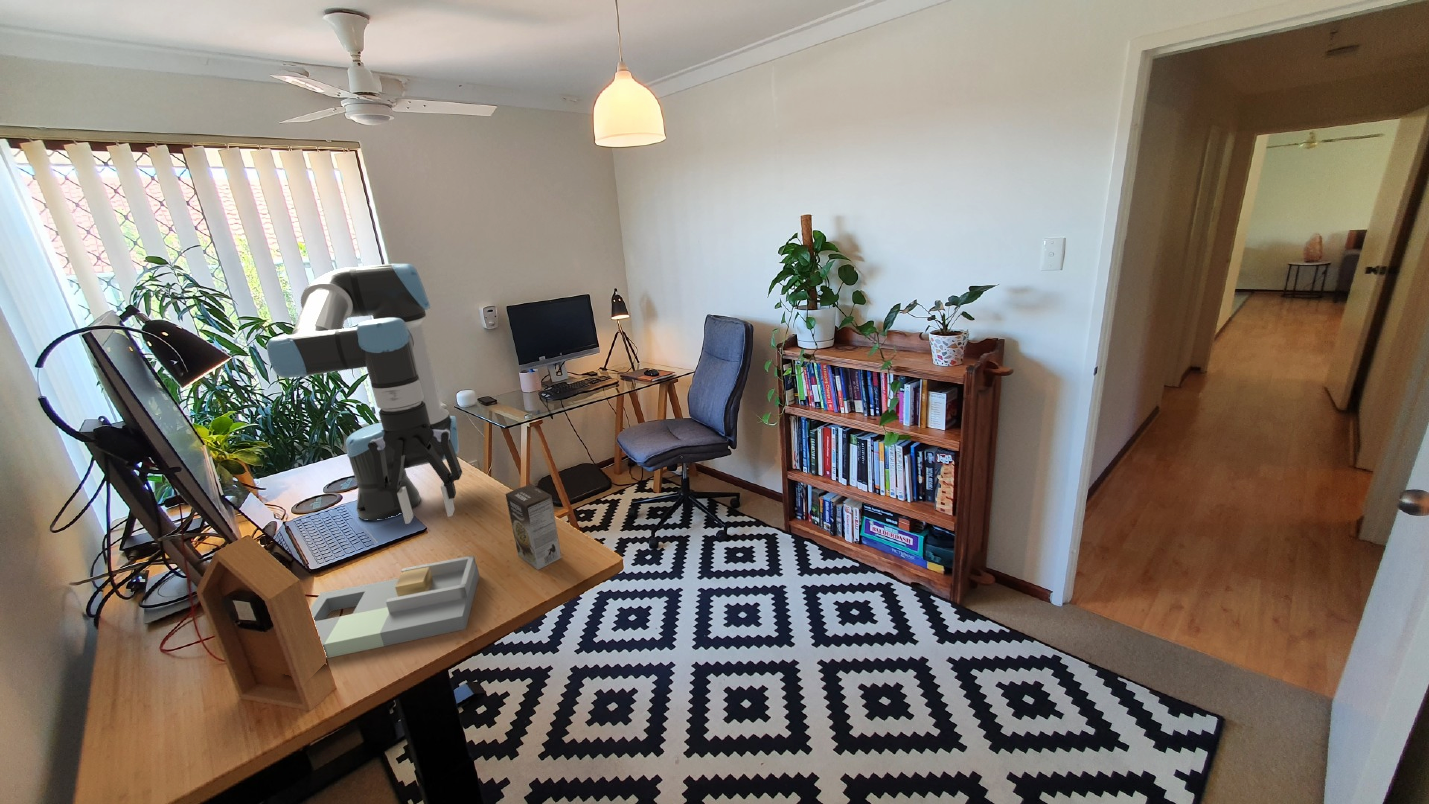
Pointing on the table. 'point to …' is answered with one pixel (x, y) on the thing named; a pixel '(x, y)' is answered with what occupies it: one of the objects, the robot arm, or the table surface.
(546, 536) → the coffee box
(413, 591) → the ochre block
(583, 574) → the table surface
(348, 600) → the tray
